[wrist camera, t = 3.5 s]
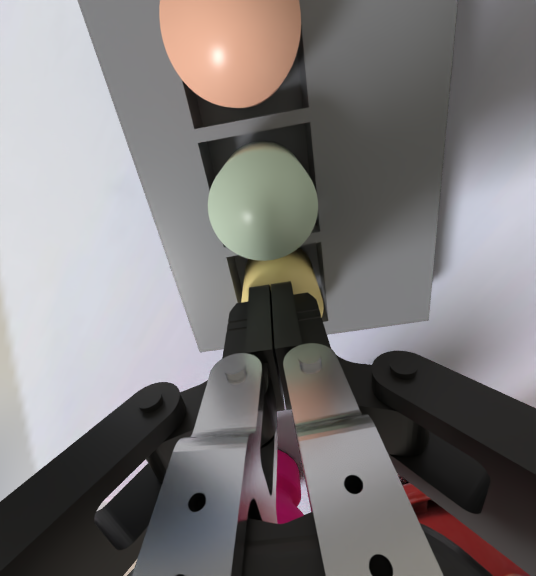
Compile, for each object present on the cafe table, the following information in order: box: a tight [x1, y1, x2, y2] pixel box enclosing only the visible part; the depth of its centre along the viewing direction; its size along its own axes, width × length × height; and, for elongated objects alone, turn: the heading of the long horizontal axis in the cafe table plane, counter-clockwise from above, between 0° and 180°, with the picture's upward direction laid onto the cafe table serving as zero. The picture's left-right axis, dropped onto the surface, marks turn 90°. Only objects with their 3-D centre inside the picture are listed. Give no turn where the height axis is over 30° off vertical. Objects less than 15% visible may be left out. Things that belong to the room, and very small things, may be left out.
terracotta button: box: [159, 0, 301, 108], centre depth 8 cm, size 3×3×3 cm
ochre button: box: [241, 248, 324, 318], centre depth 13 cm, size 3×3×3 cm
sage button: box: [208, 141, 318, 261], centre depth 10 cm, size 3×3×3 cm
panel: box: [78, 0, 458, 352], centre depth 12 cm, size 10×13×2 cm
